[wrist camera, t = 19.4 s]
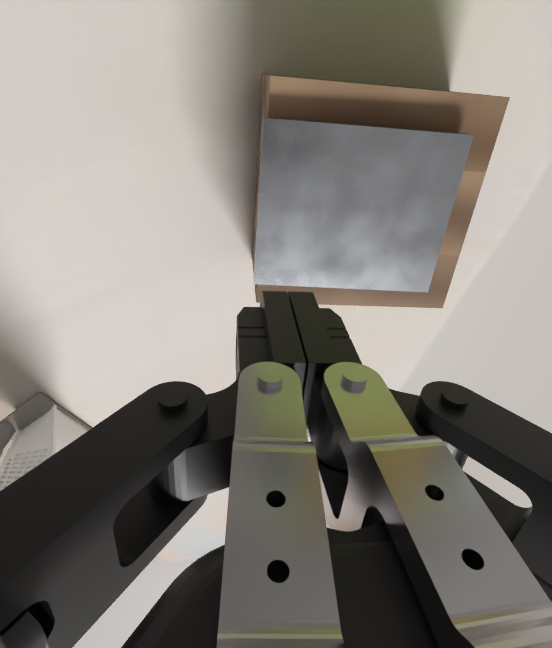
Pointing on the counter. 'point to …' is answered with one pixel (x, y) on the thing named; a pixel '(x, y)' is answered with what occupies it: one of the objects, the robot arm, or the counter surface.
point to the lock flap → (354, 203)
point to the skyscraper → (35, 436)
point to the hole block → (404, 112)
